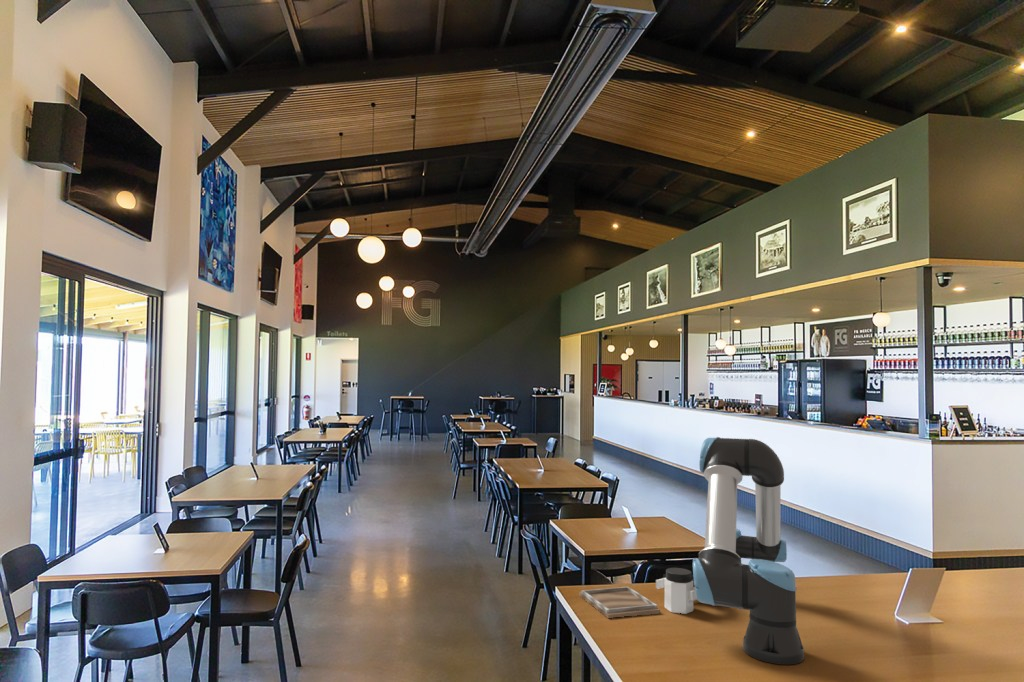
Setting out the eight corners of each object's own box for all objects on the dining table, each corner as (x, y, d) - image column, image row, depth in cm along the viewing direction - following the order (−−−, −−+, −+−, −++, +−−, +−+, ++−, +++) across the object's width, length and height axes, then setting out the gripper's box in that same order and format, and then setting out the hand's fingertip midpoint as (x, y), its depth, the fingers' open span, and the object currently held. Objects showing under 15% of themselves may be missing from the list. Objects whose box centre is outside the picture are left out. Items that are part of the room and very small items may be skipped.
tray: (660, 613, 194) (660, 606, 194) (608, 618, 189) (608, 611, 189) (626, 591, 215) (626, 585, 215) (579, 595, 209) (579, 589, 210)
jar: (682, 616, 192) (682, 576, 193) (660, 609, 198) (660, 570, 199) (697, 609, 198) (697, 571, 199) (675, 603, 204) (675, 565, 205)
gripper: (746, 600, 200) (707, 613, 187) (682, 581, 220) (643, 591, 207) (746, 576, 201) (706, 588, 188) (682, 559, 220) (643, 568, 207)
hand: (673, 590), depth 197 cm, fingers open, 13 cm apart
